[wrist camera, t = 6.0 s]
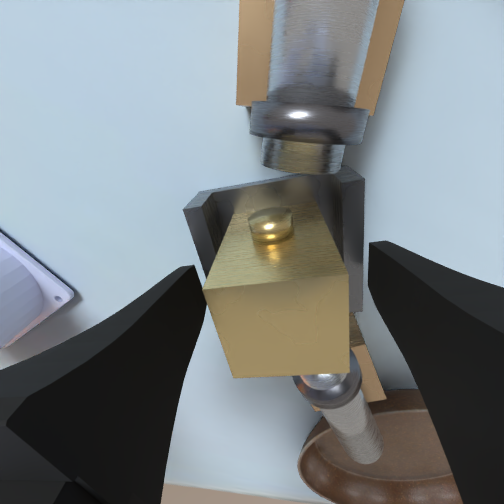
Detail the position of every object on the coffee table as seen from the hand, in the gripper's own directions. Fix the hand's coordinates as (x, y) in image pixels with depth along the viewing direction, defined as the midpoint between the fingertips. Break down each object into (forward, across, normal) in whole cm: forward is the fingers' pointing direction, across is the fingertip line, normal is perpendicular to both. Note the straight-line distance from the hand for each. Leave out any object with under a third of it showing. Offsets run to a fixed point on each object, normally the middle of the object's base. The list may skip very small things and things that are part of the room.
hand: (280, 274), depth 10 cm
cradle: (+3, 0, 0) cm, 3 cm away
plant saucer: (+4, -8, +21) cm, 22 cm away
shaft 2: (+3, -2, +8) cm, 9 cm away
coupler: (+3, 0, 0) cm, 3 cm away
